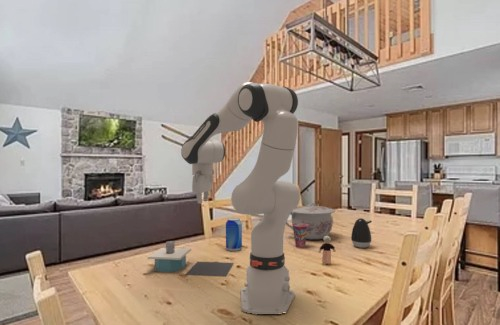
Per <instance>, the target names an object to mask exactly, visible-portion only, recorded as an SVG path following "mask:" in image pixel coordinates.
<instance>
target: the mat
mask: <svg viewBox="0 0 500 325" xmlns="http://www.w3.org/2000/svg"><path fill="white" fill-rule="evenodd" d="M234 264H235V263H234V262H219V261H217V262H216V261H215V262H214V261H196V263H195V264H194V265H192V267H191V268H189V270H188V271H187V272H186V273H185V274H184V276H196V277H197V276H203V277H223V278H224V277H225V278H226V277H227V276H228V274H229V273H230V270H232V267H233V266H234Z"/></svg>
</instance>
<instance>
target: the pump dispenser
mask: <svg viewBox="0 0 500 325" xmlns="http://www.w3.org/2000/svg"><path fill="white" fill-rule="evenodd" d="M371 223H373V222H372V220H365V219H364V218H362V217H361V218H357V219H356V221H355V222H354V224H353V227H352V231H351V236H350V237H351V238H350V240H351V242H352V244H353V246H354V247H356V248H359V249H366V248H368V247H369V246H370V245H371V243H372V234H371V230H370V227H369V224H371Z"/></svg>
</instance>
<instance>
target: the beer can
mask: <svg viewBox="0 0 500 325" xmlns="http://www.w3.org/2000/svg"><path fill="white" fill-rule="evenodd" d="M242 224H243V223H242V221H241V219H240V218H239V217H229V218H227V219H226V223H225V248H226V249H227V251H229V252H237V251H241V249H242V248H243V229H242V228H243V226H242Z"/></svg>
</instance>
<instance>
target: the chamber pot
mask: <svg viewBox="0 0 500 325" xmlns="http://www.w3.org/2000/svg"><path fill="white" fill-rule="evenodd" d="M335 212H336V209H334V208H331V207H326V206H321V205H317V204H316V203H313V202H311V203H309V204H308V205H301V206H297V207H296V208H295V209H294V210H293V211H292V212H291V214H290V215H289V216H291V225H290V224H289V222H288V221H287V222H286V225H285V226H287V227H289V228H290V229H291V230H292V231H293V232H294V230H293V225H292V224H295V223H305V224H310V225H308V228H307V236H306V240H309V241H319V240H324V239H323V238H324V237H325V236H329V235H330V233H331V232H332V229H333V224H334V218H333V216H332V214H333V213H335Z"/></svg>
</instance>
